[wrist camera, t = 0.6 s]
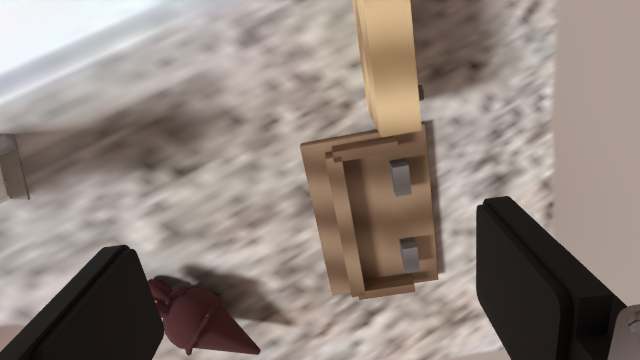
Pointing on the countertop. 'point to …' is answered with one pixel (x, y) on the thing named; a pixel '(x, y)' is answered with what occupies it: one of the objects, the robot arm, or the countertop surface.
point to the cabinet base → (373, 211)
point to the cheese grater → (11, 171)
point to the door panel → (389, 65)
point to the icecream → (199, 320)
